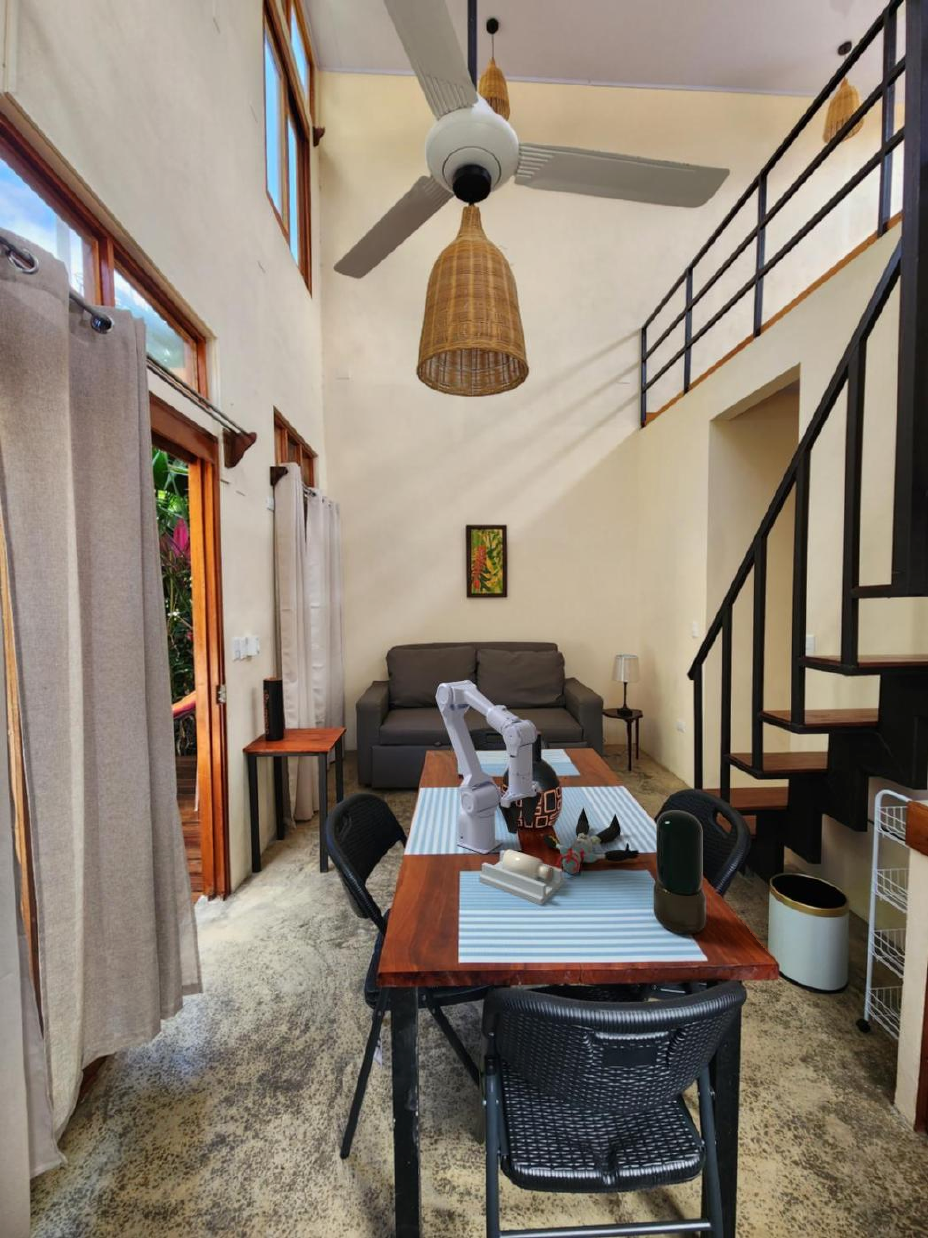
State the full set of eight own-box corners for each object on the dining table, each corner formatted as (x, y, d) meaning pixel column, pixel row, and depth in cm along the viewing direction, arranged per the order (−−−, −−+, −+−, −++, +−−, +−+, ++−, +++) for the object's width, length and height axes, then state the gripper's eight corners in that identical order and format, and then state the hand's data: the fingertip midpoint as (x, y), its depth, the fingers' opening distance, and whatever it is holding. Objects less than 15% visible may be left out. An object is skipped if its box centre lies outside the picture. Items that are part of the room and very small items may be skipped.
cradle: (479, 881, 118) (478, 866, 118) (505, 862, 127) (505, 848, 127) (540, 905, 109) (540, 889, 109) (564, 882, 117) (564, 867, 117)
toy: (648, 819, 138) (623, 862, 111) (647, 848, 137) (623, 898, 111) (556, 802, 150) (514, 837, 124) (555, 829, 150) (514, 869, 124)
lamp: (705, 943, 96) (705, 826, 95) (651, 930, 100) (651, 818, 100) (705, 915, 105) (705, 808, 104) (655, 904, 109) (655, 800, 108)
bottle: (500, 872, 119) (503, 850, 120) (511, 869, 122) (514, 848, 123) (544, 887, 112) (547, 864, 113) (554, 884, 116) (556, 862, 117)
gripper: (519, 783, 117) (519, 842, 117) (549, 767, 128) (549, 821, 129) (493, 777, 121) (493, 834, 121) (524, 762, 133) (525, 814, 133)
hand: (520, 827), depth 125 cm, fingers open, 7 cm apart
